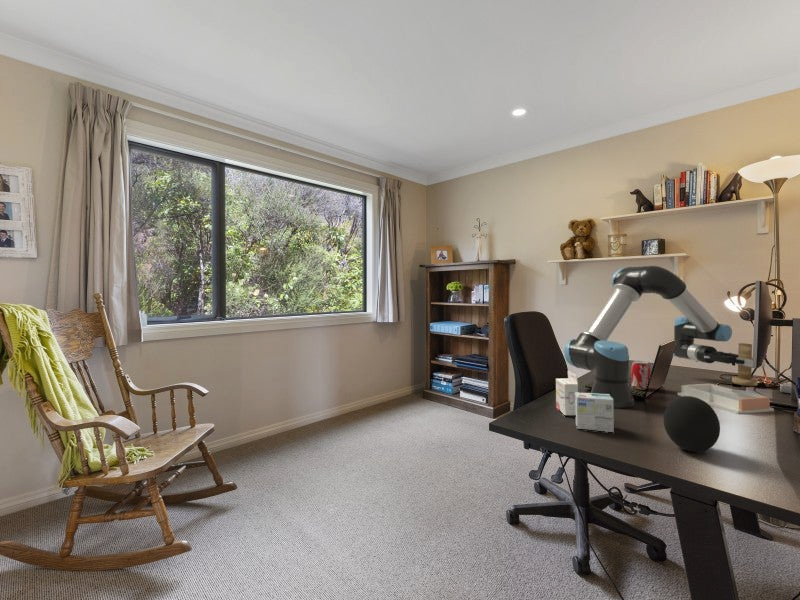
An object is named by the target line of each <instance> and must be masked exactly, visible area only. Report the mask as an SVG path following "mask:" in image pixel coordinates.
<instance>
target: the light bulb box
mask: <svg viewBox="0 0 800 600" xmlns="http://www.w3.org/2000/svg"><path fill="white" fill-rule="evenodd" d="M614 409H615V407H614V405H613V398H612V397H611V396H610V394H596V393H591V392H579V391H578V392H575V412H576V417H575V426H577V427H576V429H577V428H578V429H588V430H597V431H605V432H604V433H608V432H613V433H612V434H614V433H615V429H614V428H615V426H614V425H615V419H614V417H615V416H614V414H615V412H614V411H615V410H614ZM597 431H596V432H597Z"/></svg>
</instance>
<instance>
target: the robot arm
mask: <svg viewBox="0 0 800 600" xmlns="http://www.w3.org/2000/svg"><path fill="white" fill-rule="evenodd" d="M611 281H612V282H611V291H612V293H611V294H610V296H609V298H608V299H606V302H605V303H604V305H603V306H602V308H601V309H600V310H599V313H597V315H596V316H595V318H594V319H593V321H592V323H591V324H590V326H589V327H588V328H587V330H586V331H582V332H581V333H579V335H578V336H577V338H574V339H570V340H568V341H567V342H566V343H565V346H564V348H563V352H564V358H565V360H566V362H567V363H568V364H569V365H570V366H572V367H574V368H577V369H581V370H586V371H591V372H594V381H593V382H594V383H593V384H592V388H591V391H590V393H596V394H610V396H611V397H612V398H613V405H614V408H618V409H619V408H620V409H622V408H623V409H624V408H631V407H633V406H634V405H635V399H634V396H633V392H632V391H631V387H630V383H629V381H630V380H629V379H630V378H629V376H630V375H629V374H630V373H629V371H630V370H629V369H630V354H629V348H628V347H627V345H626V344H623V343H620V342H618V341H610V340H608V339H609V338H610V336H611V335H612V333H613V332H614V330H615V329H616V327H617V326H618V324H619V323H620V322H621V321H622V320H621V319H622V318H623V317H624V315H625V314H626V312H627V310H628V309H629V308H630V306H631V305H632V304H633V302H637V301H639V299H640V298H641V297H642V295H643V294H656V295H659V296H661V298H662V299H664V300H668V301H669V302H670V303H671V304H672V305H673V306H674V307H675V308H676V309H677V310H678V311H679V312H680V313H681V314H682V315H683V317H682V316H680V317H679V316H677V317H675V319H674V324H673V325H674V326H673V329H674V330H673V331H674V332H673V333H674V335H673V336H674V337H673V338H674V339H673V341H674V340H678V341H677V344H676V347H675V350H674V353H673V355H672V356H673V357H677V358H679V359H685V360H689V361H690V360H691V361H695V362H696V363H698V362H701V363H704V364H705V363H706V364H714V363H715V362H716V363H721V364H722V363H723V364H727V365H729V364H731V366H736V365H737V366H738V365H743V366H748V367H752V368H754V367H753V358H754V357H752V360H750V359H744V358H738V353H737V354H736V353H731V352H724V351H719V350H717V349H716V348H715V347H714V346H710V345H704V344H698V343H697V344H696V343H695V339H697V340H704V341H705V340H706V341H712V342H713V341H714V342H728V341H730V339H731V337H732V336H733V330H732V328H731V326H730V325H728V324H725V323H719V322H718V321H717V320H716V319H715V317H714V316H712V315H711V314H710V312H709V311H708V310H707V309H706V308H705V307H704V306H703V305H702V304H701V303H700V302H699V301H698V300H697V298H696V297H694V295H692V293H691V292H690V291H689V290H688V289H687V284H686V283H685V282H684V281H683V280H682V279H681V278H680V276H677V274H675V273H673V272H672V271H670V270H669V269H666V268H665V267H662V266H657V265H648V266H647V265H646V266H645V265H644V266H627V267H622V268H620V269H617V271H615V272H614V274H613V275H612V277H611ZM762 360H763V362H762V365H761V366H760V367H761V368H766V359H762Z"/></svg>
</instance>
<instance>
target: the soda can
mask: <svg viewBox="0 0 800 600" xmlns="http://www.w3.org/2000/svg"><path fill="white" fill-rule="evenodd" d="M630 370H631V371H630V372H631V373H630V375H631V377H630V378H631V379H630V380H631V382H630V383H631V387H632V386H636V387H641V388H645V387H646V386H647V383H648V380H649V377H650V378H651V366H650V364H649V361H644V360H633V361H632V364H631V369H630Z"/></svg>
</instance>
